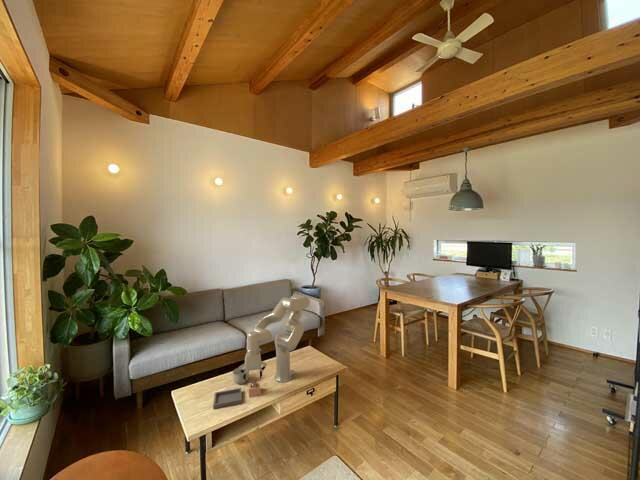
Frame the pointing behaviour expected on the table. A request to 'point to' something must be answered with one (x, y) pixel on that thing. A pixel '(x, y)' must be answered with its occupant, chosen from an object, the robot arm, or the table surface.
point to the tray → (227, 398)
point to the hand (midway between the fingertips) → (252, 378)
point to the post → (254, 384)
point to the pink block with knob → (254, 390)
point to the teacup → (240, 376)
